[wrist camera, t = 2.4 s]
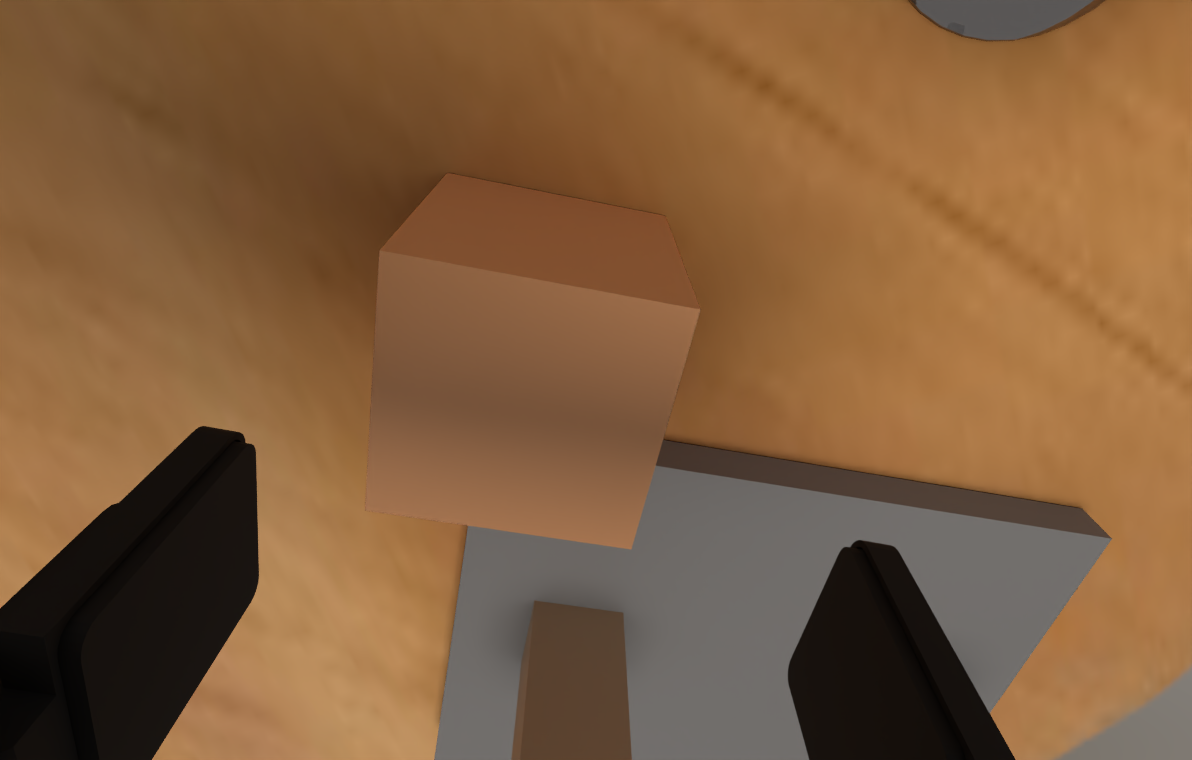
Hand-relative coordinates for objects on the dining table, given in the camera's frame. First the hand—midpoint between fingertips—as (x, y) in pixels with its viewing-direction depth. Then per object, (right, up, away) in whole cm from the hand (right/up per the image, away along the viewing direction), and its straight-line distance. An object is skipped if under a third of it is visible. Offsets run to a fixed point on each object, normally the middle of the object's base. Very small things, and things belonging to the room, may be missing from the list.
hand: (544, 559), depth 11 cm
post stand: (+6, -6, +15) cm, 17 cm away
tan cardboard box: (-1, +5, +8) cm, 10 cm away
